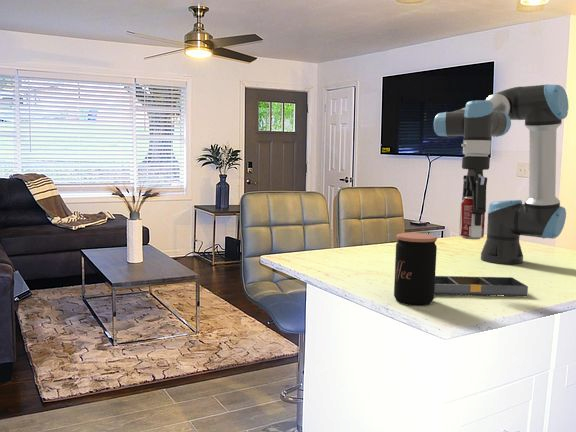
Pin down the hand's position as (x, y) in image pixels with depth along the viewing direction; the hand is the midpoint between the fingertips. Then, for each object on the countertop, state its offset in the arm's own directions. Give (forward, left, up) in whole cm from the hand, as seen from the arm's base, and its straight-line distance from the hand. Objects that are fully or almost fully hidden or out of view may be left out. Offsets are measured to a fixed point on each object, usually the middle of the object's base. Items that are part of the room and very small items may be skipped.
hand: (471, 234), depth 162 cm
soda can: (0, 0, -1) cm, 1 cm away
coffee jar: (+19, +13, -17) cm, 29 cm away
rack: (0, 0, -17) cm, 17 cm away
